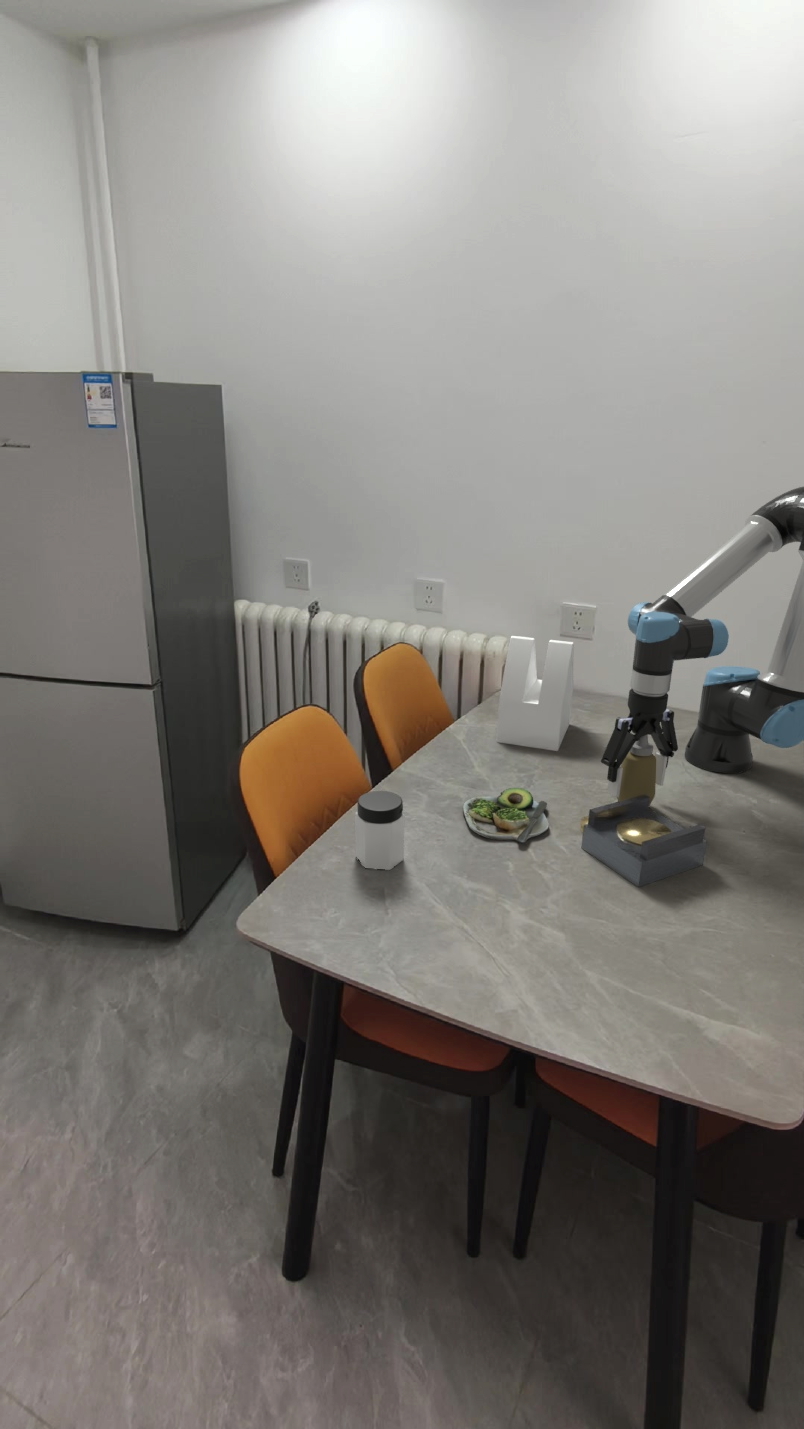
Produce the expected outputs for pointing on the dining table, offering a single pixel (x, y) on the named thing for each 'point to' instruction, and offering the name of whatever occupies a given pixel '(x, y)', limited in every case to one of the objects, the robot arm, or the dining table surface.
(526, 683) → the white notched stand
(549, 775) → the dining table surface
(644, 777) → the squeeze bottle
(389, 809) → the jar
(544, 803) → the avocado toast plate
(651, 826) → the grey rimmed block
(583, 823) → the brass dome knob
